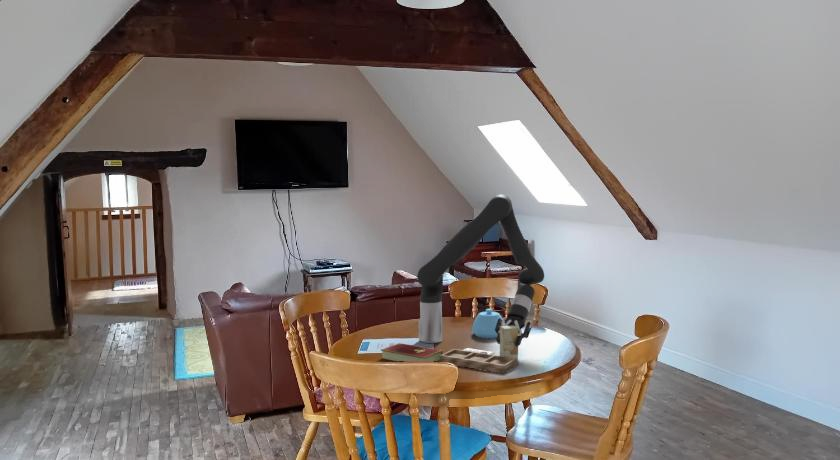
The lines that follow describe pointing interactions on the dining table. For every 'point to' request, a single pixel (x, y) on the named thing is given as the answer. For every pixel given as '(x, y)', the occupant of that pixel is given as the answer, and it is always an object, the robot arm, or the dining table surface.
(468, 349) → the card
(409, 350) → the hardcover book
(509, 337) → the skincare box
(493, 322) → the sugar bowl
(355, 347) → the dining table surface
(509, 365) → the socket board
